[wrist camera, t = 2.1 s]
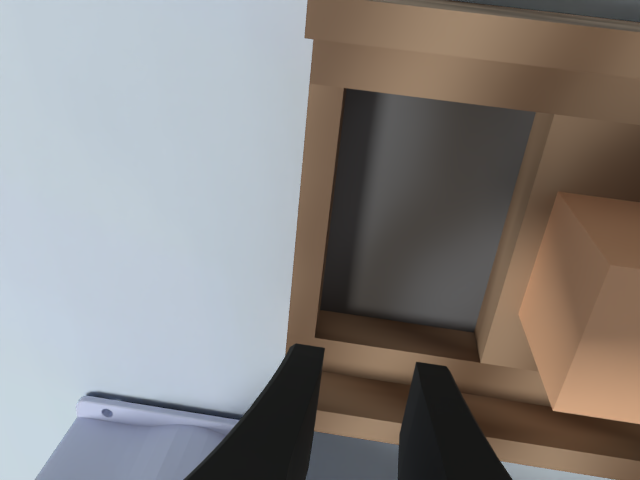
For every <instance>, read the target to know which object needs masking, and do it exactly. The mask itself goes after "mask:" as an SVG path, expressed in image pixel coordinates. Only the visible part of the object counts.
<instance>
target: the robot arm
mask: <svg viewBox="0 0 640 480" xmlns="http://www.w3.org/2000/svg"><path fill="white" fill-rule="evenodd" d="M324 352H325V348H323V347H317V346H310V345H304V344H297V343H295V344H294V345H292V346H291V347H290V348H289V350H288V352H287V354H286V356H285V358H284V359H283V361H282V363H281V365H280V366H279V368H278V369H277V371H276V372H275V374H274V375H273V377H272V378H271V380H270V381H269V383H268V384H267V386H266V387H265V388H264V390H263V391H262V392H261V394H260V395H259V396H258V398H257V399H256V400H255V402H254V403H253V404H252V406H251V407H250V408H249V410H248V411H247V412H246V413H245V415H244V416H243V417H242V418H241V419H240V420H236V419H229V418H223V417H217V416H211V415H204V414H198V413H192V412H186V411H179V410H173V409H167V408H161V407H154V406H148V405H142V404H136V403H129V402H123V401H117V400H111V399H105V398H98V397H92V396H83V397H81V398H80V399H79V401H78V402H77V404H76V412H77V418H76V420H75V421H74V423H73V424H72V426H71V427H70V429H69V430H68V431H67V433H66V434H65V436H64V437H63V439H62V440H61V442H60V443H59V445H58V446H57V448H56V449H55V451H54V452H53V453H52V455H51V456H50V458H49V459H48V461H47V462H46V464H45V465H44V467H43V468H42V470H41V471H40V473H39V474H38V475H37V477H36V478H35V480H305V479H306V475H307V471H308V466H309V460H310V453H311V447H312V441H313V434H314V428H315V421H316V413H317V406H318V398H319V390H320V383H321V375H322V367H323V360H324ZM108 409H109V410H108ZM110 410H111V411H110ZM398 480H512V478H511V477H510V475H509V474H508V472H507V471H506V469H505V468H504V466H503V465H502V463H501V462H500V460H499V458H498V457H497V455H496V454H495V452H494V450H493V449H492V447H491V445H490V444H489V442H488V440H487V439H486V437H485V435H484V434H483V432H482V430H481V429H480V427H479V425H478V423H477V422H476V420H475V418H474V416H473V414H472V413H471V411H470V409H469V407H468V405H467V403H466V401H465V400H464V398H463V396H462V394H461V392H460V390H459V388H458V386H457V384H456V382H455V380H454V378H453V376H452V374H451V372H450V370H449V369H448V368H447V366H442V365H436V364H429V363H422V362H416V364H415V369H414V373H413V377H412V382H411V386H410V390H409V395H408V399H407V403H406V408H405V412H404V417H403V421H402V425H401V430H400V434H399V457H398Z"/></svg>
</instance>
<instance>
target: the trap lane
mask: <svg viewBox="0 0 640 480" xmlns="http://www.w3.org/2000/svg"><path fill="white" fill-rule="evenodd" d="M305 38H308V39H314V40H313V51H312V62H311V74H310V85H309V96H308V107H307V119H306V130H305V141H304V152H303V163H302V175H301V186H300V197H299V208H298V220H297V231H296V242H295V253H294V265H293V276H292V287H291V298H290V309H289V321H288V332H287V343H286V354H287V352H288V350H289V348H290V347H291V346H292V345H294V344H295V343H297V344H304V345H310V346H317V347H323V348H325V352H324V360H323V367H322V375H321V383H320V390H319V398H318V406H317V413H316V421H315V428H314V431H316V432H322V433H328V434H334V435H341V436H347V437H353V438H359V439H366V440H372V441H378V442H384V443H391V444H397V445H399V434H400V430H401V425H402V421H403V417H404V412H405V408H406V403H407V399H408V395H409V390H410V386H411V382H412V377H413V373H414V369H415V364H416V362H422V363H429V364H436V365H442V366H447V368H448V369H449V370H450V372H451V374H452V376H453V378H454V380H455V382H456V384H457V386H458V388H459V390H460V392H461V394H462V396H463V398H464V400H465V401H466V403H467V405H468V407H469V409H470V411H471V413H472V414H473V416H474V418H475V420H476V422H477V423H478V425H479V427H480V429H481V430H482V432H483V434H484V435H485V437H486V439H487V440H488V442H489V444H490V445H491V447H492V449H493V450H494V452H495V454H496V455H497V457H498V458H499V460H500V461H503V462H509V463H516V464H522V465H528V466H534V467H541V468H547V469H553V470H559V471H565V472H572V473H578V474H584V475H590V476H597V477H603V478H609V479H615V480H640V424H636V423H629V422H623V421H616V420H610V419H603V418H597V417H590V416H584V415H577V414H571V413H564V412H558V411H553V410H552V407H551V404H550V402H549V399H548V396H547V393H546V390H545V388H544V385H543V382H542V379H541V376H540V374H539V371H538V368H537V365H536V362H535V360H534V357H533V354H532V351H531V348H530V346H529V343H528V340H527V337H526V334H525V332H524V329H523V326H522V323H521V321H520V318H519V315H518V314H519V310H520V307H521V304H522V301H523V298H524V295H525V292H526V289H527V286H528V283H529V279H530V276H531V273H532V270H533V267H534V264H535V261H536V258H537V255H538V251H539V248H540V245H541V242H542V239H543V236H544V233H545V230H546V227H547V223H548V220H549V217H550V214H551V211H552V208H553V205H554V202H555V199H556V196H557V192H566V193H573V194H581V195H588V196H596V197H603V198H611V199H618V200H626V201H633V202H640V22H633V21H624V20H616V19H607V18H599V17H590V16H581V15H573V14H564V13H555V12H547V11H538V10H529V9H521V8H512V7H503V6H495V5H486V4H477V3H469V2H460V1H451V0H308V2H307V15H306V27H305ZM286 354H285V356H286Z"/></svg>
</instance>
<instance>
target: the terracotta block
mask: <svg viewBox="0 0 640 480" xmlns="http://www.w3.org/2000/svg"><path fill="white" fill-rule="evenodd" d="M518 315H519V318H520V321H521V323H522V326H523V329H524V332H525V334H526V337H527V340H528V343H529V346H530V348H531V351H532V354H533V357H534V360H535V362H536V365H537V368H538V371H539V374H540V376H541V379H542V382H543V385H544V388H545V390H546V393H547V396H548V399H549V402H550V404H551V407H552V410H553V411H558V412H564V413H571V414H577V415H584V416H590V417H597V418H603V419H610V420H616V421H623V422H629V423H636V424H640V202H633V201H626V200H618V199H611V198H603V197H596V196H588V195H581V194H573V193H566V192H557V196H556V199H555V202H554V205H553V208H552V211H551V214H550V217H549V220H548V223H547V227H546V230H545V233H544V236H543V239H542V242H541V245H540V248H539V251H538V255H537V258H536V261H535V264H534V267H533V270H532V273H531V276H530V279H529V283H528V286H527V289H526V292H525V295H524V298H523V301H522V304H521V307H520V310H519V314H518Z"/></svg>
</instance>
